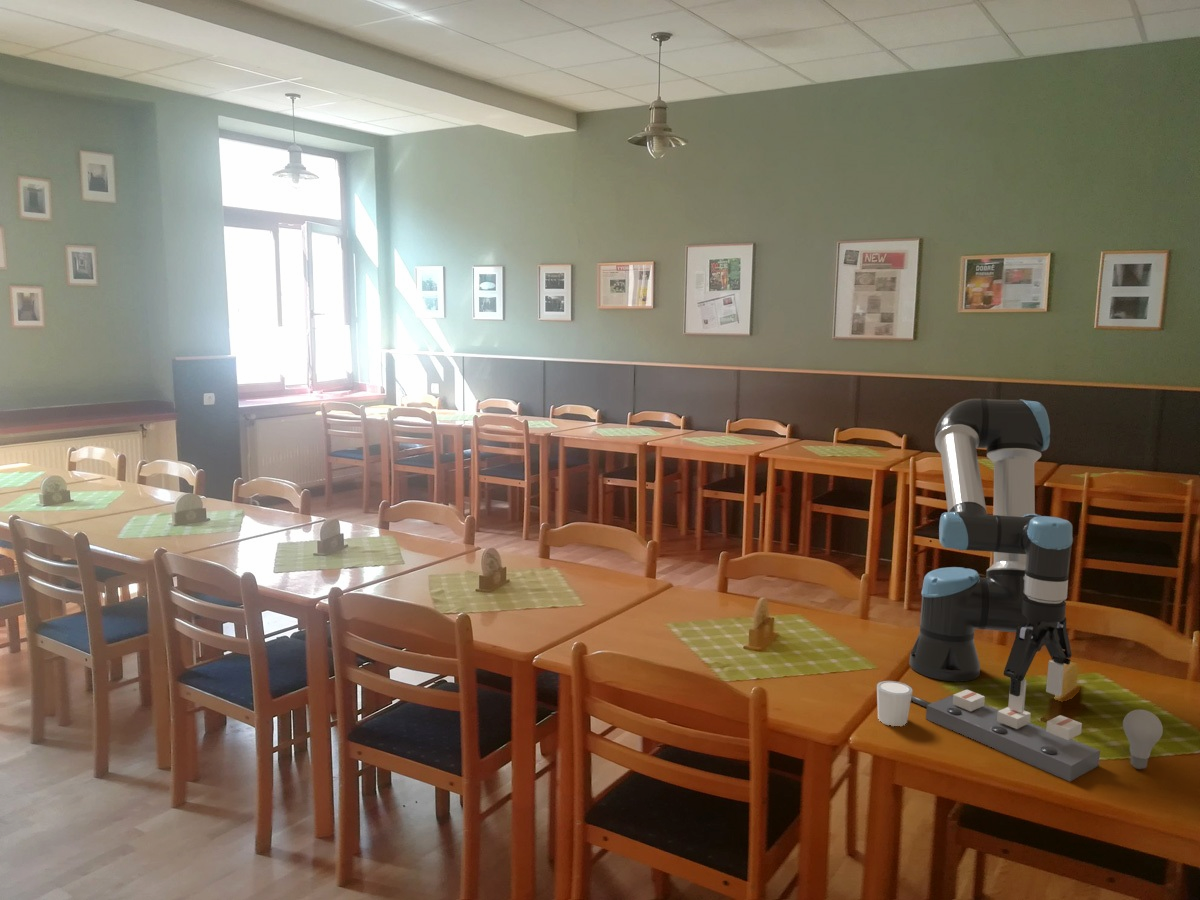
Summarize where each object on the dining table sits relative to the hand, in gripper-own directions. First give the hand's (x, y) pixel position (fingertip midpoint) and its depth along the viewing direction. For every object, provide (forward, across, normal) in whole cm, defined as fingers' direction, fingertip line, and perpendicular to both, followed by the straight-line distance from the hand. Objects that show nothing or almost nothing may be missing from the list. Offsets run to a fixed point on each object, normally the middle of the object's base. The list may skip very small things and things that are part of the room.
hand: (1035, 702), depth 173 cm
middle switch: (+2, +7, 0) cm, 8 cm away
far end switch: (+1, +7, +10) cm, 12 cm away
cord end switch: (+3, +7, -10) cm, 12 cm away
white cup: (+6, +20, -18) cm, 27 cm away
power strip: (+6, +9, -5) cm, 12 cm away
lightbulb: (+6, -1, +19) cm, 20 cm away
